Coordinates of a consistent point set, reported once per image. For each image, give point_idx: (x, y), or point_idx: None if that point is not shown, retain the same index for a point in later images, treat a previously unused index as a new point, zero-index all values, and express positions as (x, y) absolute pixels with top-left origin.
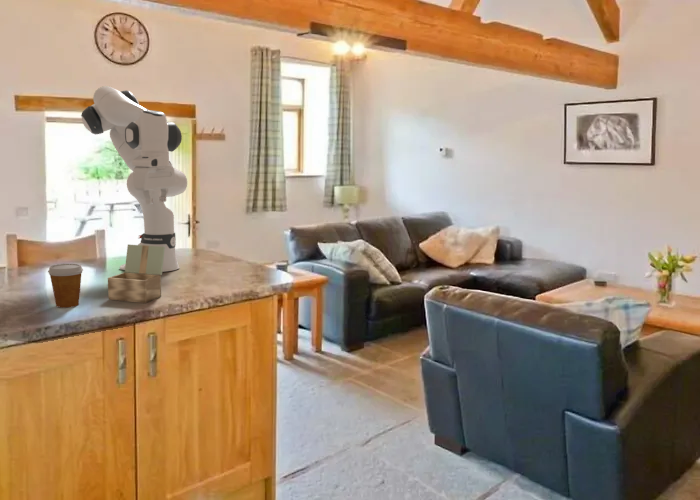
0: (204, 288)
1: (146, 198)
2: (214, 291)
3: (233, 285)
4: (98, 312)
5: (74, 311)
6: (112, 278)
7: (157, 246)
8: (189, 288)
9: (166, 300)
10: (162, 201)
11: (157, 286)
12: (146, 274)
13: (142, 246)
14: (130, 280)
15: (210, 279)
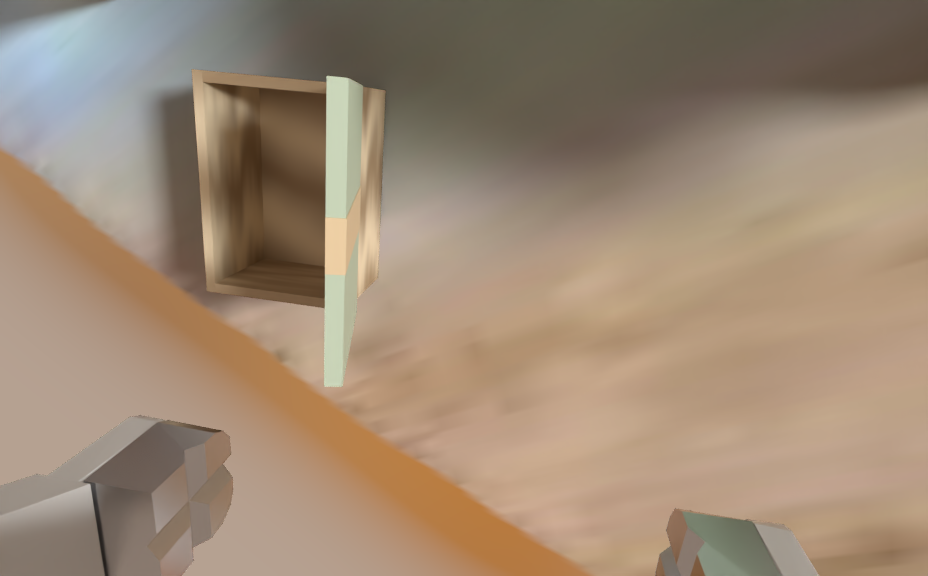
0: (564, 400)
1: (37, 497)
2: (517, 451)
3: (645, 497)
4: (86, 149)
5: (56, 43)
6: (194, 101)
7: (324, 341)
8: (551, 340)
9: None
10: (660, 563)
11: None
12: None
13: (326, 218)
14: (203, 211)
15: (770, 374)
